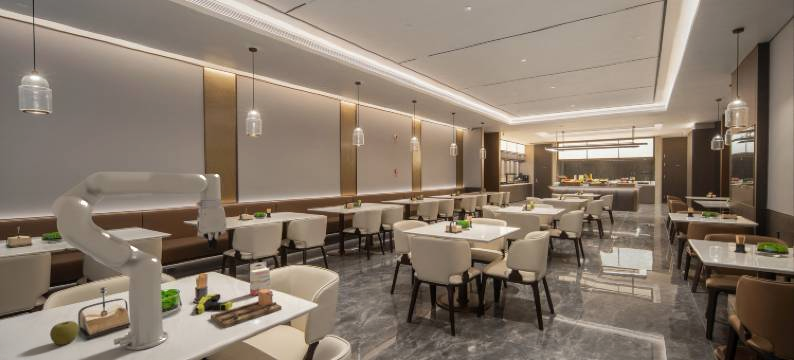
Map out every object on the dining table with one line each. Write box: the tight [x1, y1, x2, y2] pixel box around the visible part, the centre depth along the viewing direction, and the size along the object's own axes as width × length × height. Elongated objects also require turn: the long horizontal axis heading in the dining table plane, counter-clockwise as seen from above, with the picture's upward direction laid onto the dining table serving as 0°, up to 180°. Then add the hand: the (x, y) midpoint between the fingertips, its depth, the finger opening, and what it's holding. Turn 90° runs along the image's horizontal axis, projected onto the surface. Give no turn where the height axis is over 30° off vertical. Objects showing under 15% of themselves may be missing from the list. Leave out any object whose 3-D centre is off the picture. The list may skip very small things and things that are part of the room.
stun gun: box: [195, 293, 233, 315], centre depth 166 cm, size 3×19×15 cm
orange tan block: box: [257, 289, 274, 306], centre depth 158 cm, size 4×9×6 cm, turn 47°
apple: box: [49, 320, 79, 346], centre depth 131 cm, size 8×8×7 cm
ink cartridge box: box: [249, 261, 271, 297], centre depth 180 cm, size 9×5×15 cm, turn 130°
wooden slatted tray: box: [210, 300, 282, 329], centre depth 153 cm, size 24×14×4 cm, turn 137°
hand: (212, 248), depth 148 cm, fingers closed
